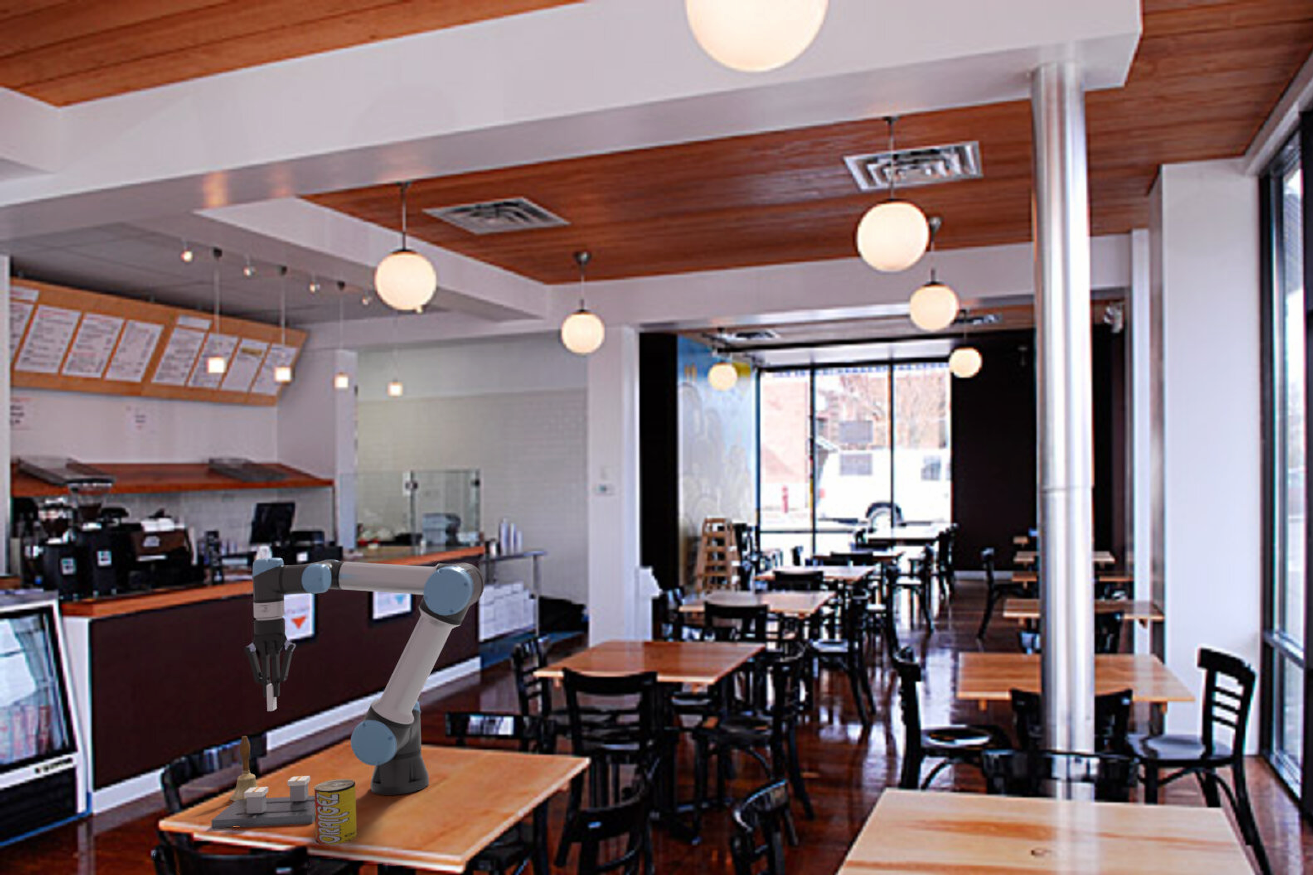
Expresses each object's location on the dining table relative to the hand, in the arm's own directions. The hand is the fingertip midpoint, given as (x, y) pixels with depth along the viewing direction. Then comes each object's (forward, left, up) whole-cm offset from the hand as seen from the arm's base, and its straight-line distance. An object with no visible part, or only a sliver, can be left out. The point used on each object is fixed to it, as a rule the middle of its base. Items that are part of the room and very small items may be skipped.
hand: (272, 709), depth 262 cm
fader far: (-8, +5, -22) cm, 24 cm away
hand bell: (+10, -8, -25) cm, 28 cm away
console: (-3, +9, -24) cm, 26 cm away
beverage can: (-24, +28, -24) cm, 44 cm away
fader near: (0, +13, -22) cm, 25 cm away
